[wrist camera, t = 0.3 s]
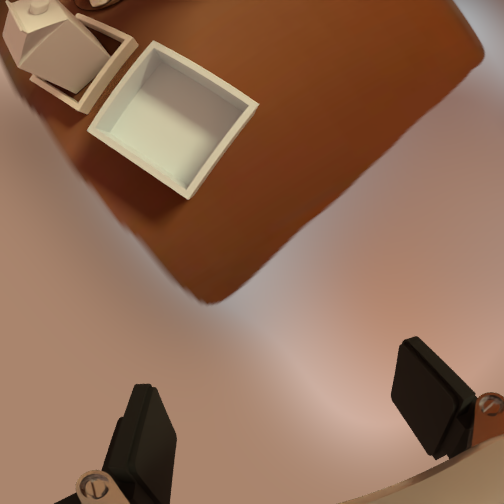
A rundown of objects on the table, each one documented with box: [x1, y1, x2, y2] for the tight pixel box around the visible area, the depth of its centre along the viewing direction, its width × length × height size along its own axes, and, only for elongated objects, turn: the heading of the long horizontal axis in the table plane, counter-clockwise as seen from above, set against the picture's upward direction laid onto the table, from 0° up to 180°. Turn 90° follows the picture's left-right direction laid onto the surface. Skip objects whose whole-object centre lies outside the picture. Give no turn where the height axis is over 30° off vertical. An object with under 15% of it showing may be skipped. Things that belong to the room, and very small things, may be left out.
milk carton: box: [3, 0, 111, 94], centre depth 22 cm, size 7×7×19 cm
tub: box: [87, 40, 259, 200], centre depth 32 cm, size 13×15×6 cm
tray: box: [29, 13, 139, 115], centre depth 30 cm, size 12×12×3 cm
